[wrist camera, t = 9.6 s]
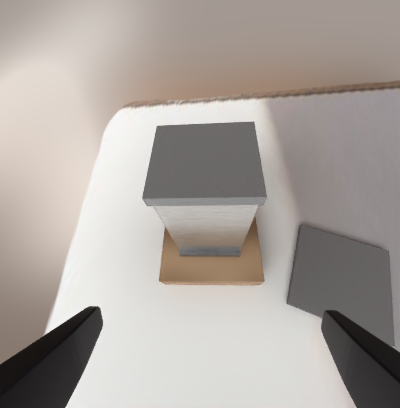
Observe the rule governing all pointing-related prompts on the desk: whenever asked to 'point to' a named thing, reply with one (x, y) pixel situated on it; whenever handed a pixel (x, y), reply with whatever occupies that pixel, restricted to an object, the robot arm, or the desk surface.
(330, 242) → the pad
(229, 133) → the block
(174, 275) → the stand
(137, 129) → the desk surface
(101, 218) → the desk surface
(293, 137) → the desk surface
